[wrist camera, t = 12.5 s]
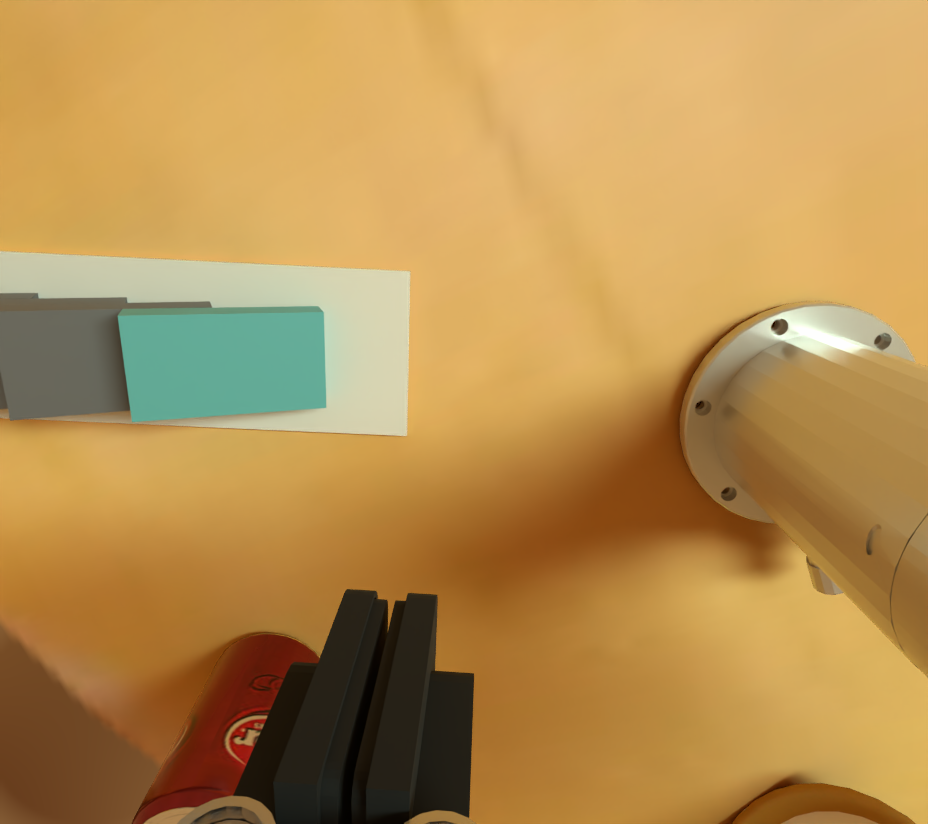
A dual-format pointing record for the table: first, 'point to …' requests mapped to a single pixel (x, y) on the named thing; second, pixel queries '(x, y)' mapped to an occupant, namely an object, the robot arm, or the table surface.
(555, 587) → the table surface
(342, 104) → the table surface
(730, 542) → the table surface
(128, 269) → the plate
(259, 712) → the soda can
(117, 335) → the domino
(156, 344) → the domino
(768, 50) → the table surface
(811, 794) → the flared yellow plastic housing
